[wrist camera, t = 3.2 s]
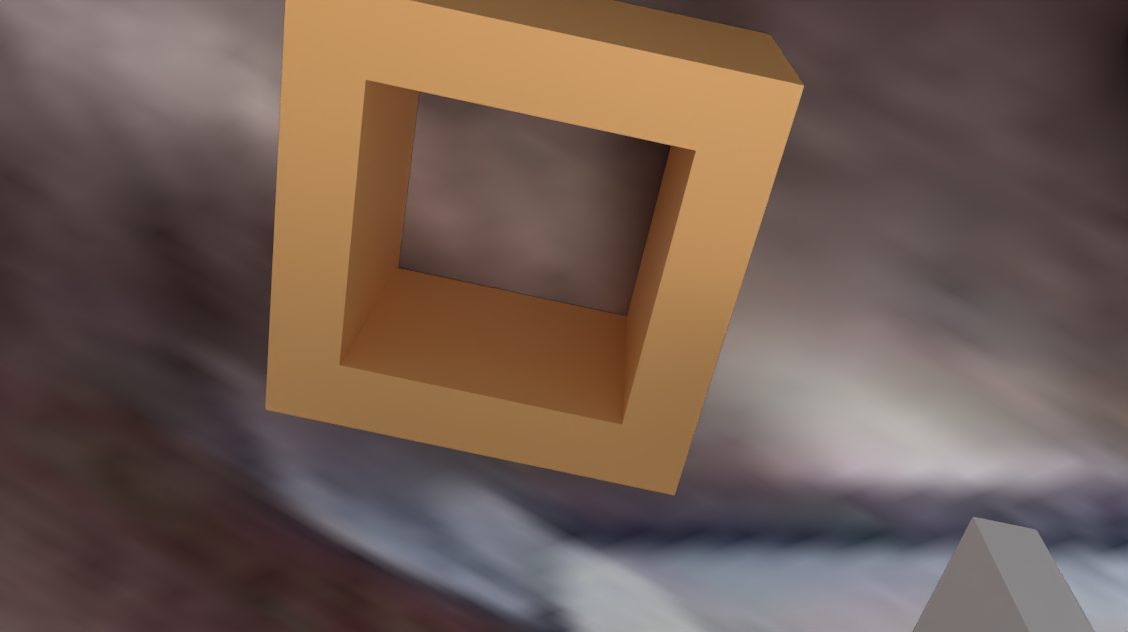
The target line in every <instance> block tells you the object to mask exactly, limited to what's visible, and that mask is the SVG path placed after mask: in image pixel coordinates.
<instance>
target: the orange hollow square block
mask: <svg viewBox="0 0 1128 632" xmlns="http://www.w3.org/2000/svg"><path fill="white" fill-rule="evenodd" d="M803 88H804V84H803V83H802V81H801V80H800V78H799V77H798V75H797V74H796V72H795V71H794V70H793V68H792V67H791V65H790V64H789V62H788V61H787V59H786V58H785V56H784V55H783V53H782V52H781V50H780V49H779V47H778V46H777V44H776V43H775V41H774V40H773V38H772V37H771V35H770V34H767V33H762V32H758V31H753V30H748V29H744V28H739V27H734V26H730V25H725V24H721V23H716V22H711V21H707V20H702V19H698V18H693V17H688V16H684V15H679V14H675V13H670V12H665V11H661V10H656V9H652V8H647V7H642V6H638V5H633V4H629V3H624V2H619V1H615V0H286V1H285V21H284V42H283V62H282V82H281V102H280V123H279V143H278V163H277V183H276V204H275V224H274V244H273V264H272V285H271V305H270V325H269V345H268V366H267V386H266V406H265V410H269V411H274V412H279V413H284V414H288V415H293V416H298V417H303V418H307V419H312V420H317V421H322V422H327V423H331V424H336V425H341V426H346V427H350V428H355V429H360V430H365V431H369V432H374V433H379V434H384V435H389V436H393V437H398V438H403V439H408V440H412V441H417V442H422V443H427V444H432V445H436V446H441V447H446V448H451V449H455V450H460V451H465V452H470V453H475V454H479V455H484V456H489V457H494V458H498V459H503V460H508V461H513V462H517V463H522V464H527V465H532V466H537V467H541V468H546V469H551V470H556V471H560V472H565V473H570V474H575V475H580V476H584V477H589V478H594V479H599V480H603V481H608V482H613V483H618V484H622V485H627V486H632V487H637V488H642V489H646V490H651V491H656V492H661V493H665V494H670V495H675V493H676V489H677V486H678V483H679V480H680V477H681V474H682V471H683V467H684V464H685V461H686V458H687V455H688V452H689V448H690V445H691V442H692V439H693V436H694V433H695V429H696V426H697V423H698V420H699V417H700V414H701V410H702V407H703V404H704V401H705V398H706V395H707V392H708V388H709V385H710V382H711V379H712V376H713V373H714V369H715V366H716V363H717V360H718V357H719V354H720V350H721V347H722V344H723V341H724V338H725V335H726V331H727V328H728V325H729V322H730V319H731V316H732V312H733V309H734V306H735V303H736V300H737V297H738V294H739V290H740V287H741V284H742V281H743V278H744V275H745V271H746V268H747V265H748V262H749V259H750V256H751V252H752V249H753V246H754V243H755V240H756V237H757V233H758V230H759V227H760V224H761V221H762V218H763V215H764V211H765V208H766V205H767V202H768V199H769V196H770V192H771V189H772V186H773V183H774V180H775V177H776V173H777V170H778V167H779V164H780V161H781V158H782V154H783V151H784V148H785V145H786V142H787V139H788V135H789V132H790V129H791V126H792V123H793V120H794V117H795V113H796V110H797V107H798V104H799V101H800V98H801V94H802V91H803ZM419 91H421V92H425V93H430V94H435V95H439V96H444V97H449V98H453V99H458V100H463V101H467V102H472V103H477V104H481V105H486V106H491V107H495V108H500V109H505V110H509V111H514V112H518V113H523V114H528V115H532V116H537V117H542V118H546V119H551V120H556V121H560V122H565V123H570V124H574V125H579V126H584V127H588V128H593V129H598V130H602V131H607V132H612V133H616V134H621V135H625V136H630V137H635V138H639V139H644V140H649V141H653V142H658V143H663V144H667V145H671V147H670V151H669V155H668V159H667V163H666V167H665V171H664V174H663V178H662V182H661V186H660V190H659V194H658V198H657V202H656V206H655V210H654V213H653V217H652V221H651V225H650V229H649V233H648V237H647V241H646V245H645V249H644V252H643V256H642V260H641V264H640V268H639V272H638V276H637V280H636V284H635V288H634V292H633V295H632V299H631V303H630V307H629V311H628V315H627V316H623V315H618V314H613V313H609V312H604V311H599V310H595V309H590V308H585V307H580V306H576V305H571V304H566V303H562V302H557V301H552V300H547V299H543V298H538V297H533V296H529V295H524V294H519V293H514V292H510V291H505V290H500V289H496V288H491V287H486V286H481V285H477V284H472V283H467V282H463V281H458V280H453V279H448V278H444V277H439V276H434V275H430V274H425V273H420V272H415V271H411V270H406V269H401V268H398V266H399V257H400V249H401V241H402V233H403V224H404V216H405V208H406V199H407V191H408V183H409V174H410V166H411V158H412V149H413V141H414V133H415V124H416V116H417V108H418V100H419Z"/></svg>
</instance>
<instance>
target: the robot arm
mask: <svg viewBox="0 0 1128 632" xmlns="http://www.w3.org/2000/svg"><path fill="white" fill-rule="evenodd" d="M913 632H1095V631H1094V630H1093V628H1092V626H1091V624H1090V623H1089V621H1088V619H1087V617H1086V615H1085V614H1084V612H1083V610H1082V608H1081V607H1080V605H1079V603H1078V601H1077V600H1076V598H1075V596H1074V594H1073V593H1072V591H1071V589H1070V587H1069V586H1068V584H1067V582H1066V580H1065V579H1064V577H1063V575H1062V573H1061V572H1060V570H1059V568H1058V566H1057V565H1056V563H1055V561H1054V559H1053V558H1052V556H1051V554H1050V552H1049V551H1048V549H1047V547H1046V545H1045V544H1044V542H1043V540H1042V538H1041V537H1040V535H1039V533H1038V531H1037V530H1035V529H1031V528H1026V527H1021V526H1016V525H1011V524H1006V523H1001V522H997V521H992V520H987V519H982V518H977V517H972V519H971V521H970V523H969V525H968V527H967V529H966V531H965V533H964V535H963V536H962V538H961V540H960V542H959V544H958V546H957V548H956V550H955V552H954V554H953V556H952V557H951V559H950V561H949V563H948V565H947V567H946V569H945V571H944V573H943V575H942V577H941V578H940V580H939V582H938V584H937V586H936V588H935V590H934V592H933V594H932V596H931V598H930V599H929V601H928V603H927V605H926V607H925V609H924V611H923V613H922V615H921V617H920V618H919V620H918V622H917V624H916V626H915V628H914V630H913Z"/></svg>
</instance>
